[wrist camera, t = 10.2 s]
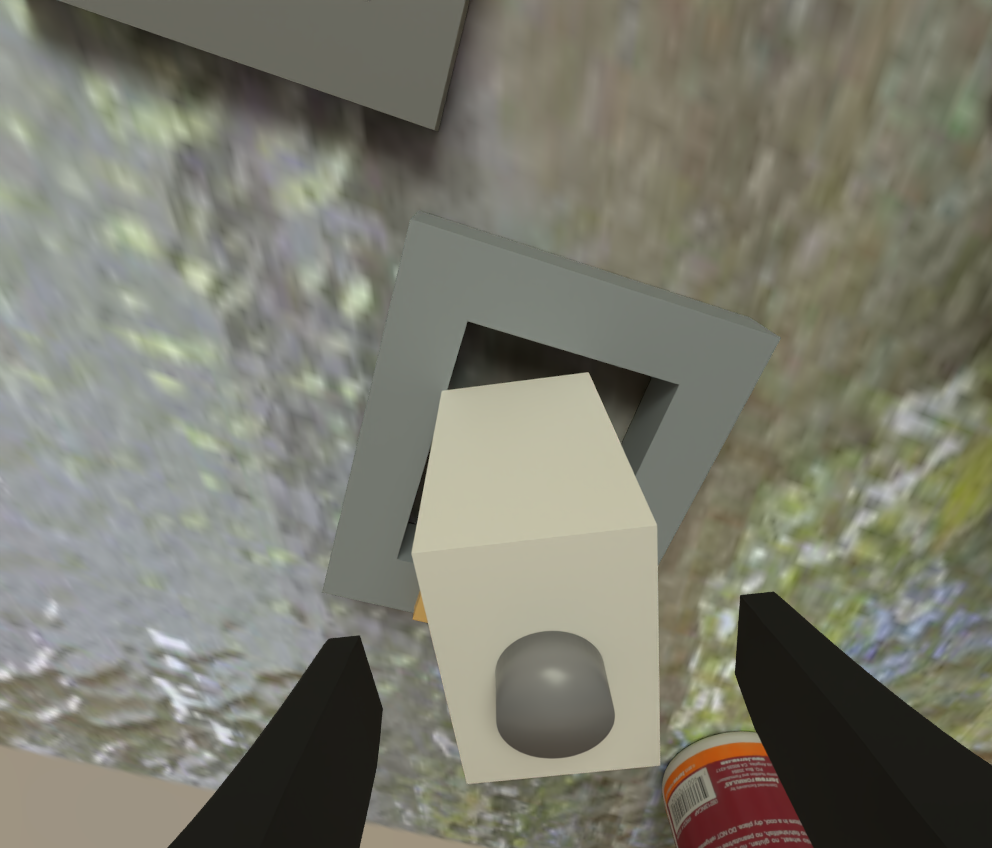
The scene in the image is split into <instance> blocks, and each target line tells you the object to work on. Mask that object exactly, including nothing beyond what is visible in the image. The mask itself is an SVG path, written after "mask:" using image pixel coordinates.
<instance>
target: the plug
mask: <svg viewBox="0 0 992 848" xmlns="http://www.w3.org/2000/svg"><path fill="white" fill-rule="evenodd" d="M411 554H412V558H413V562H414V567H415V571H416V575H417V579H418V583H419V587H420V591H421V596H422V600H423V604H424V608H425V612H426V616H427V621H428V625H429V629H430V633H431V637H432V641H433V645H434V650H435V654H436V658H437V662H438V666H439V670H440V675H441V679H442V683H443V687H444V691H445V695H446V699H447V704H448V708H449V712H450V716H451V720H452V724H453V729H454V733H455V737H456V741H457V745H458V749H459V753H460V758H461V762H462V766H463V770H464V774H465V778H466V783H467V784H473V783H483V782H494V781H504V780H515V779H525V778H535V777H546V776H556V775H567V774H577V773H587V772H598V771H608V770H619V769H629V768H639V767H650V766H660V708H659V628H658V549H657V524H656V522H655V519H654V517H653V515H652V513H651V510H650V508H649V506H648V504H647V502H646V499H645V497H644V495H643V493H642V490H641V488H640V486H639V484H638V481H637V479H636V477H635V475H634V472H633V470H632V468H631V466H630V464H629V461H628V459H627V457H626V455H625V452H624V450H623V448H622V446H621V443H620V441H619V439H618V437H617V435H616V432H615V430H614V428H613V426H612V423H611V421H610V419H609V417H608V414H607V412H606V410H605V408H604V406H603V403H602V401H601V399H600V397H599V394H598V392H597V390H596V388H595V385H594V383H593V381H592V379H591V377H590V374H589V372H586V373H579V374H571V375H563V376H555V377H547V378H539V379H531V380H523V381H515V382H508V383H500V384H492V385H484V386H476V387H468V388H460V389H452V390H444V391H442V393H441V398H440V403H439V409H438V414H437V419H436V425H435V430H434V435H433V441H432V446H431V451H430V457H429V462H428V467H427V473H426V478H425V483H424V489H423V494H422V499H421V505H420V510H419V515H418V521H417V526H416V531H415V537H414V542H413V548H412V553H411Z"/></svg>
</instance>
